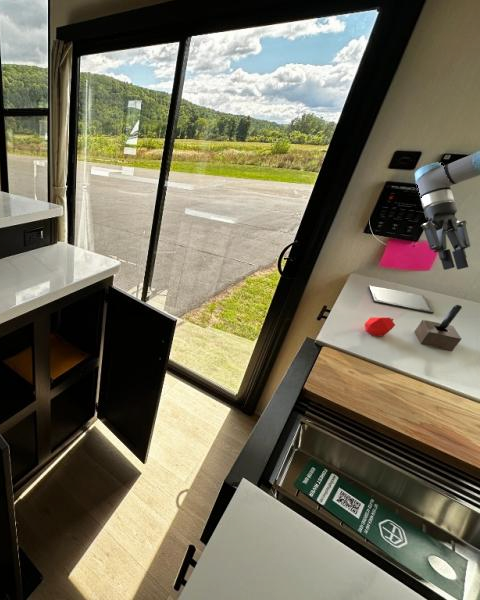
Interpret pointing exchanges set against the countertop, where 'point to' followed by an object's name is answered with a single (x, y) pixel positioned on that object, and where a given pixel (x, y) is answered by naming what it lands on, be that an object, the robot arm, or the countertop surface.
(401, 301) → the tablet
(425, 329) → the block
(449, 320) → the stylus
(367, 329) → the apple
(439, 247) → the robot arm
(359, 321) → the countertop surface
